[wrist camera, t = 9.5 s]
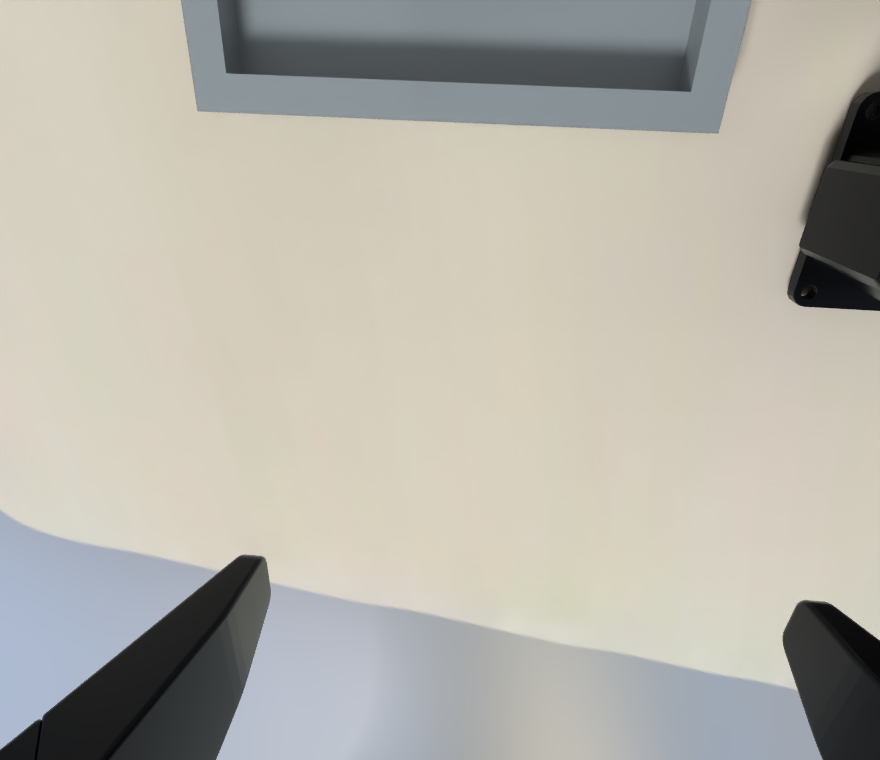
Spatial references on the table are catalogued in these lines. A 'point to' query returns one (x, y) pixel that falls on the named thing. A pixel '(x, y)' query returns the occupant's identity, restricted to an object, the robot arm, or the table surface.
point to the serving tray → (470, 60)
